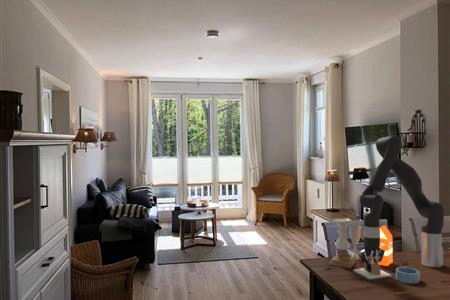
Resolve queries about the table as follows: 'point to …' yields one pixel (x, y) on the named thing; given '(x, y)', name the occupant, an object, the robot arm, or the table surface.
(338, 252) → the candle holder
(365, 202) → the robot arm
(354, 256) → the chalice
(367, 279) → the mat
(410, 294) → the table surface
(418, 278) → the bowl
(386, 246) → the orange juice
